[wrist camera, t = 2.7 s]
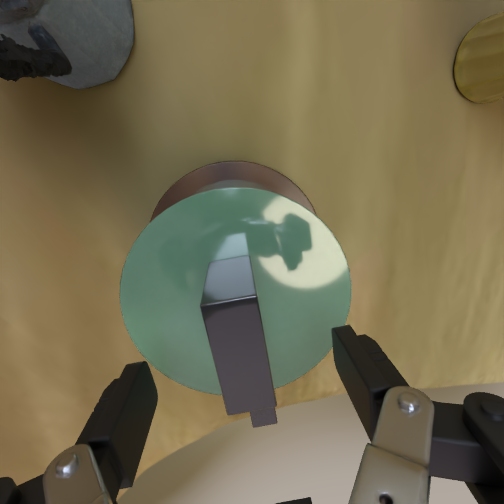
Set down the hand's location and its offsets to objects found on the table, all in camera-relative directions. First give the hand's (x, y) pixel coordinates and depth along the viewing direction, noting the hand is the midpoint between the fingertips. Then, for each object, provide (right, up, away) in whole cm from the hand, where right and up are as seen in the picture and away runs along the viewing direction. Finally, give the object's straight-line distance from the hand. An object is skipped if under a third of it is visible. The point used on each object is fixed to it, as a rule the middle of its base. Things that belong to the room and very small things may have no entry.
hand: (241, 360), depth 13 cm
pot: (-1, +2, +15) cm, 15 cm away
